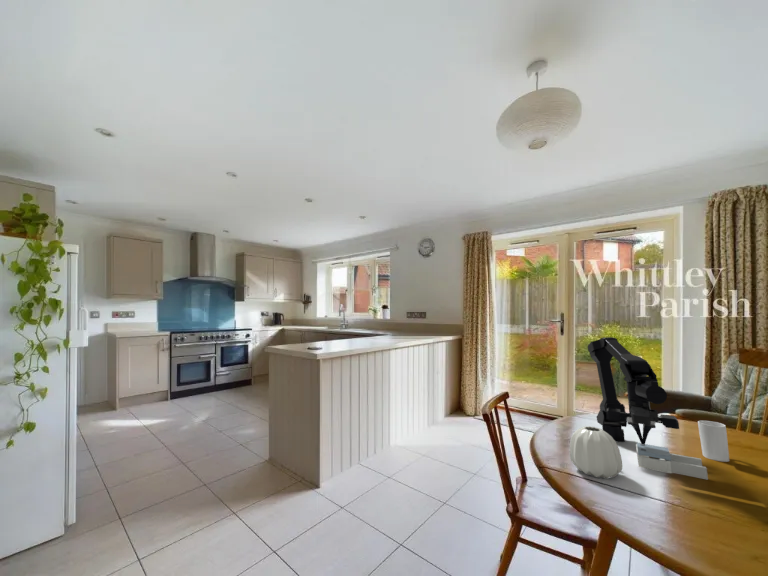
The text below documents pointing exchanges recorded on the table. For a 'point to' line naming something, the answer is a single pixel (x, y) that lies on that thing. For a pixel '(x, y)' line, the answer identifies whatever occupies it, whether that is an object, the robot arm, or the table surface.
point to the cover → (653, 451)
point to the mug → (713, 440)
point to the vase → (595, 452)
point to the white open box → (675, 465)
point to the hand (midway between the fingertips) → (643, 444)
